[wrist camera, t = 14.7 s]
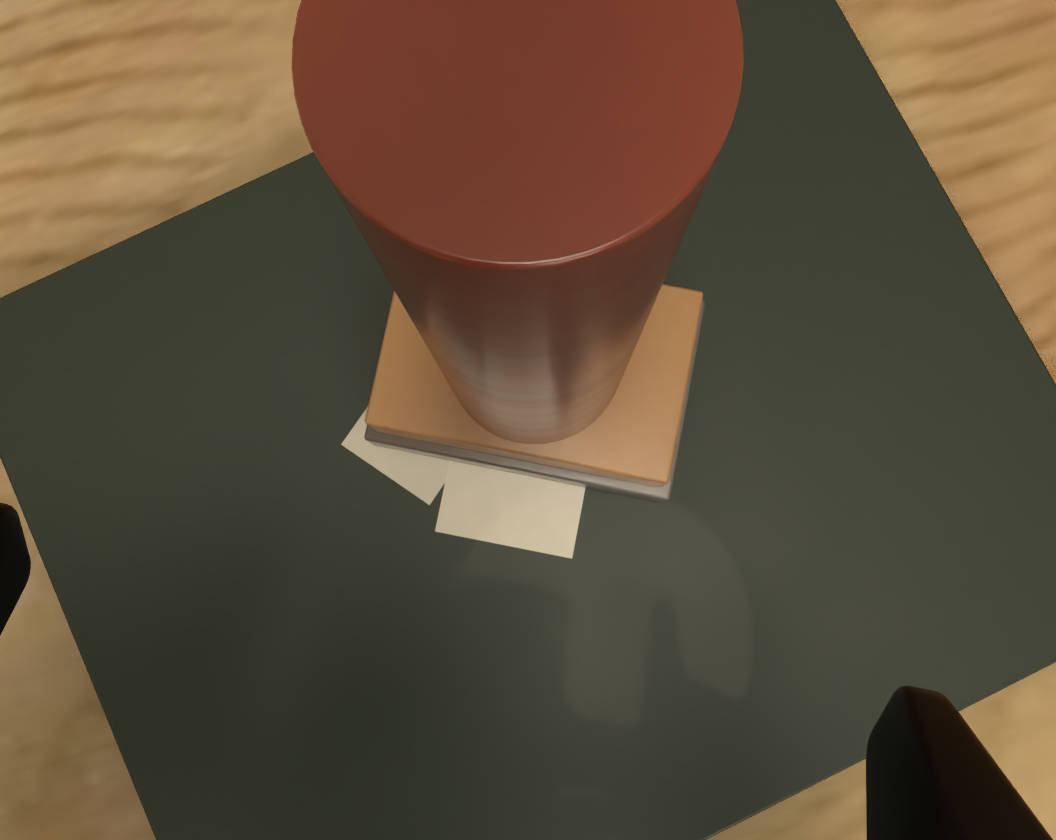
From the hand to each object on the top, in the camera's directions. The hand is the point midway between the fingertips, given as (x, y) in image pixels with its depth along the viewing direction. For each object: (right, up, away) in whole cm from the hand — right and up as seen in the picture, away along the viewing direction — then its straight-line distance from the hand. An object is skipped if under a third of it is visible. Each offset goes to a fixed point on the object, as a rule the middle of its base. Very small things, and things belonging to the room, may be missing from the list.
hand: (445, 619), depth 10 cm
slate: (+1, +1, +10) cm, 10 cm away
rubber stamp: (+1, +3, +10) cm, 10 cm away
